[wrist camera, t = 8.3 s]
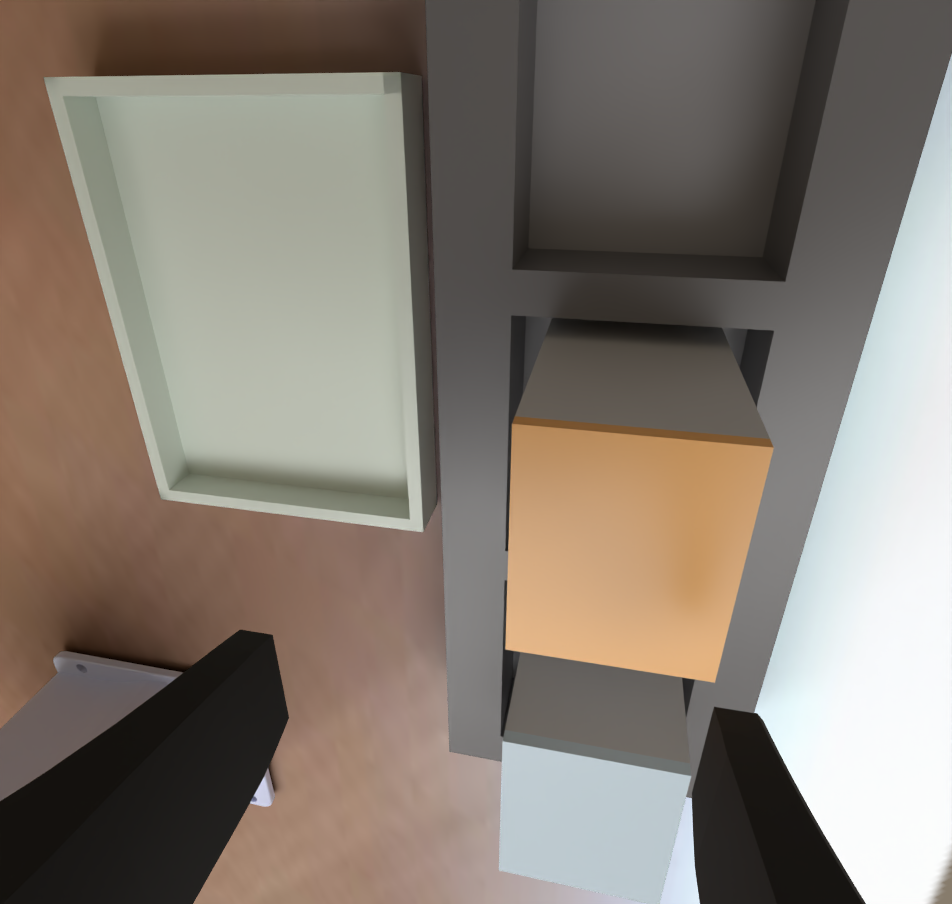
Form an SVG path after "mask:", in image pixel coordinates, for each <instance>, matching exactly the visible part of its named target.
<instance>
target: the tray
mask: <svg viewBox="0 0 952 904" xmlns="http://www.w3.org/2000/svg"><path fill="white" fill-rule="evenodd" d="M43 78H44V81H45V85H46V89H47V92H48V96H49V99H50V103H51V107H52V110H53V114H54V117H55V121H56V124H57V128H58V132H59V135H60V139H61V142H62V146H63V150H64V153H65V157H66V160H67V164H68V168H69V171H70V175H71V178H72V182H73V185H74V189H75V193H76V196H77V200H78V203H79V207H80V211H81V214H82V218H83V221H84V225H85V228H86V232H87V236H88V239H89V243H90V246H91V250H92V254H93V257H94V261H95V264H96V268H97V271H98V275H99V279H100V282H101V286H102V289H103V293H104V297H105V300H106V304H107V307H108V311H109V314H110V318H111V322H112V325H113V329H114V332H115V336H116V340H117V343H118V347H119V350H120V354H121V357H122V361H123V365H124V368H125V372H126V375H127V379H128V383H129V386H130V390H131V393H132V397H133V400H134V404H135V408H136V411H137V415H138V418H139V422H140V426H141V429H142V433H143V436H144V440H145V444H146V447H147V451H148V454H149V458H150V461H151V465H152V469H153V472H154V476H155V479H156V483H157V487H158V490H159V494H160V497H161V499H164V500H171V501H179V502H187V503H195V504H203V505H211V506H219V507H227V508H235V509H243V510H251V511H259V512H267V513H275V514H283V515H291V516H299V517H307V518H315V519H322V520H330V521H338V522H346V523H354V524H362V525H370V526H378V527H386V528H394V529H402V530H410V531H418V532H424V530H425V528H426V526H427V524H428V522H429V519H430V517H431V515H432V513H433V511H434V509H435V507H436V505H437V489H436V461H435V433H434V405H433V377H432V349H431V322H430V294H429V266H428V238H427V210H426V182H425V155H424V127H423V99H422V76H419V75H414V74H408V73H403V72H370V73H301V74H232V75H162V76H93V77H43Z"/></svg>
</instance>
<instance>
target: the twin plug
mask: <svg viewBox="0 0 952 904" xmlns="http://www.w3.org/2000/svg"><path fill="white" fill-rule="evenodd" d="M690 779H691V768H690V757H689V747H688V736H687V725H686V715H685V704H684V693H683V682H682V677H676V676H670V675H663V674H657V673H651V672H644V671H638V670H632V669H625V668H619V667H613V666H607V665H600V664H594V663H588V662H581V661H575V660H569V659H562V658H556V657H550V656H543V655H537V654H531V653H524V652H520V657H519V662H518V667H517V672H516V677H515V682H514V687H513V692H512V697H511V702H510V707H509V712H508V717H507V722H506V727H505V731H504V736H503V742H502V778H501V814H500V850H499V871H504V872H508V873H513V874H517V875H522V876H526V877H531V878H535V879H540V880H544V881H549V882H553V883H558V884H562V885H567V886H571V887H575V888H580V889H584V890H589V891H593V892H598V893H602V894H607V895H611V896H616V897H620V898H625V899H629V900H634V901H638V902H643V903H647V904H660V900H661V896H662V892H663V888H664V884H665V880H666V876H667V872H668V868H669V864H670V860H671V856H672V852H673V848H674V843H675V839H676V835H677V831H678V827H679V823H680V819H681V815H682V811H683V807H684V803H685V799H686V795H687V791H688V787H689V783H690Z"/></svg>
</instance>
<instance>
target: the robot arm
mask: <svg viewBox="0 0 952 904" xmlns="http://www.w3.org/2000/svg"><path fill="white" fill-rule="evenodd" d="M53 662H54V665H55V667H56V669H57V672H58V673H57V674H56V675H55V676H54V677H53V678H52V679H51V680H50V681H49V682H48V683H47V684H46V685H45V686H44V687H43V688H42V689H41V690H40V691H38V692H37V693H36V694H35V695H34V696H33V697H32V698H31V699H30V700H29V701H28V702H27V703H26V704H25V705H24V706H23V707H22V708H21V709H20V710H19V711H18V712H17V713H16V714H15V715H14V716H13V717H12V718H11V719H10V720H9V721H8V722H7V723H6V724H5V725H4V726H3V727H2V728H1V729H0V904H193V903H194V901H195V899H196V897H197V896H198V894H199V892H200V890H201V889H202V887H203V885H204V883H205V882H206V880H207V878H208V876H209V875H210V873H211V871H212V869H213V867H214V866H215V864H216V862H217V860H218V859H219V857H220V855H221V853H222V852H223V850H224V848H225V846H226V844H227V843H228V841H229V839H230V837H231V836H232V834H233V832H234V830H235V829H236V827H237V825H238V823H239V821H240V820H241V818H242V816H243V814H244V813H245V811H246V809H247V807H248V805H249V804H250V803H251V804H255V805H260V806H270V805H271V804H272V802H273V800H274V798H275V794H274V790H273V786H272V782H271V778H270V773H269V769H268V767H269V764H270V762H271V760H272V758H273V755H274V753H275V751H276V748H277V746H278V743H279V741H280V738H281V736H282V734H283V731H284V729H285V726H286V724H287V721H288V719H289V716H288V711H287V706H286V701H285V696H284V691H283V686H282V680H281V675H280V670H279V665H278V660H277V655H276V650H275V645H274V640H273V635H270V634H264V633H257V632H251V631H245V630H239V631H238V632H236V633H235V634H234V635H232V636H231V637H230V638H228V639H227V640H226V641H224V642H223V643H222V644H220V645H219V646H218V647H216V648H215V649H214V650H212V651H211V652H210V653H208V654H207V655H206V656H205V657H203V658H202V659H201V660H199V661H198V662H197V663H195V664H194V665H193V666H192V667H190V668H189V669H188V670H186V671H185V672H178V671H173V670H167V669H162V668H156V667H151V666H145V665H140V664H134V663H129V662H123V661H118V660H112V659H107V658H101V657H96V656H90V655H85V654H79V653H74V652H68V651H61V652H59V653H58V654H57V655H56V656H55V657H54V659H53ZM692 812H693V837H694V857H695V870H696V878H697V885H698V892H699V899H700V904H866V903H865V902H864V900H863V898H862V897H861V895H860V894H859V892H858V890H857V889H856V887H855V886H854V884H853V882H852V881H851V879H850V877H849V876H848V874H847V872H846V871H845V869H844V867H843V866H842V864H841V862H840V861H839V859H838V857H837V856H836V854H835V852H834V851H833V849H832V847H831V846H830V844H829V842H828V841H827V839H826V837H825V836H824V834H823V832H822V830H821V829H820V827H819V825H818V823H817V822H816V820H815V818H814V816H813V815H812V813H811V811H810V809H809V807H808V806H807V804H806V802H805V800H804V798H803V797H802V795H801V793H800V791H799V789H798V787H797V786H796V784H795V782H794V780H793V778H792V776H791V774H790V773H789V771H788V769H787V767H786V765H785V763H784V761H783V759H782V757H781V755H780V754H779V752H778V750H777V748H776V746H775V744H774V742H773V740H772V738H771V736H770V734H769V732H768V730H767V728H766V726H765V723H764V721H763V720H762V719H761V718H760V716H759V715H758V714H756V713H750V712H744V711H738V710H732V709H726V708H719V707H714V709H713V712H712V716H711V720H710V724H709V728H708V732H707V736H706V740H705V744H704V748H703V751H702V755H701V759H700V763H699V767H698V771H697V775H696V779H695V783H694V787H693V790H692Z"/></svg>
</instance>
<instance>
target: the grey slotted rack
mask: <svg viewBox="0 0 952 904" xmlns="http://www.w3.org/2000/svg"><path fill="white" fill-rule="evenodd" d="M425 6H426V37H427V68H428V99H429V131H430V162H431V193H432V224H433V255H434V287H435V318H436V349H437V380H438V411H439V443H440V474H441V505H442V536H443V568H444V599H445V630H446V661H447V692H448V724H449V752H454V753H459V754H464V755H469V756H475V757H480V758H485V759H490V760H496V761H501V762H502V742H503V736H504V731H505V727H506V722H507V717H508V712H509V707H510V702H511V697H512V692H513V687H514V682H515V677H516V672H517V667H518V662H519V657H520V652H518V651H512V650H506V649H505V646H506V612H507V578H508V544H509V510H510V477H511V443H512V423H513V420H514V417H515V415H516V412H517V409H518V407H519V404H520V402H521V399H522V396H523V394H524V391H525V388H526V386H527V383H528V380H529V378H530V375H531V372H532V370H533V367H534V365H535V362H536V359H537V357H538V354H539V351H540V349H541V346H542V343H543V341H544V338H545V336H546V333H547V330H548V328H549V325H550V322H551V320H552V318H565V319H583V320H600V321H617V322H634V323H651V324H668V325H686V326H703V327H720V328H722V329H723V331H724V334H725V336H726V338H727V341H728V343H729V345H730V348H731V350H732V352H733V355H734V357H735V359H736V361H737V364H738V366H739V368H740V371H741V373H742V375H743V378H744V380H745V382H746V385H747V387H748V389H749V391H750V394H751V396H752V398H753V401H754V403H755V405H756V408H757V410H758V412H759V415H760V417H761V419H762V421H763V424H764V426H765V428H766V431H767V433H768V435H769V438H770V440H771V442H772V445H773V447H774V449H773V453H772V457H771V461H770V465H769V469H768V473H767V477H766V481H765V485H764V489H763V493H762V497H761V501H760V505H759V509H758V513H757V517H756V521H755V525H754V529H753V533H752V537H751V541H750V545H749V549H748V553H747V557H746V561H745V565H744V569H743V573H742V577H741V581H740V585H739V589H738V593H737V597H736V601H735V605H734V609H733V613H732V616H731V620H730V624H729V628H728V632H727V636H726V640H725V644H724V648H723V652H722V656H721V660H720V664H719V668H718V672H717V676H716V680H715V683H714V682H708V681H701V680H695V679H689V678H682V682H683V693H684V704H685V715H686V725H687V736H688V747H689V757H690V768H691V779H690V783H689V787H688V791H687V795H686V797H689V798H692V790H693V787H694V783H695V779H696V775H697V771H698V767H699V763H700V759H701V755H702V751H703V748H704V744H705V740H706V736H707V732H708V728H709V724H710V720H711V716H712V712H713V709H714V707H719V708H726V709H732V710H738V711H744V712H750V713H754V711H755V707H756V704H757V701H758V697H759V694H760V691H761V687H762V684H763V681H764V677H765V674H766V671H767V667H768V664H769V661H770V657H771V654H772V651H773V647H774V644H775V641H776V637H777V634H778V631H779V627H780V624H781V621H782V617H783V614H784V611H785V607H786V604H787V601H788V597H789V594H790V591H791V587H792V584H793V581H794V577H795V574H796V571H797V567H798V564H799V561H800V557H801V554H802V551H803V547H804V544H805V541H806V537H807V534H808V531H809V527H810V524H811V521H812V517H813V514H814V511H815V507H816V504H817V501H818V497H819V494H820V491H821V487H822V484H823V481H824V477H825V474H826V471H827V467H828V464H829V461H830V457H831V454H832V451H833V447H834V444H835V441H836V437H837V434H838V431H839V427H840V424H841V421H842V417H843V414H844V411H845V407H846V404H847V401H848V397H849V394H850V391H851V387H852V384H853V381H854V377H855V374H856V371H857V367H858V364H859V361H860V357H861V354H862V351H863V347H864V344H865V341H866V337H867V334H868V331H869V327H870V324H871V321H872V317H873V314H874V311H875V307H876V304H877V301H878V297H879V294H880V291H881V287H882V284H883V281H884V277H885V274H886V271H887V267H888V264H889V260H890V257H891V254H892V250H893V247H894V244H895V240H896V237H897V234H898V230H899V227H900V224H901V220H902V217H903V214H904V210H905V207H906V204H907V200H908V197H909V194H910V190H911V187H912V184H913V180H914V177H915V174H916V170H917V167H918V164H919V160H920V157H921V154H922V150H923V147H924V144H925V140H926V137H927V134H928V130H929V127H930V124H931V120H932V117H933V114H934V110H935V107H936V104H937V100H938V97H939V94H940V90H941V87H942V84H943V80H944V77H945V74H946V70H947V67H948V64H949V60H950V57H951V54H952V0H425Z"/></svg>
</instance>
